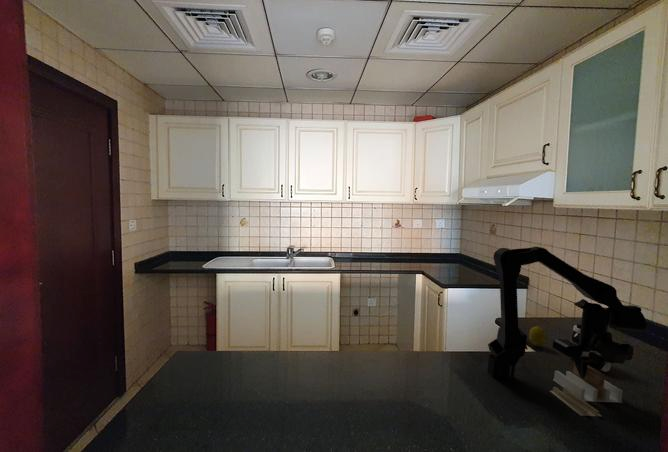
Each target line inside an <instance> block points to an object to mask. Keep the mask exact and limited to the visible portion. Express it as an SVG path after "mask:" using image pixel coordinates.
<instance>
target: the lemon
mask: <svg viewBox="0 0 668 452" xmlns="http://www.w3.org/2000/svg"><path fill="white" fill-rule="evenodd" d="M528 338H529V340H530V342H531V343H532V344H534V345H535V347H539V346H542V345H544V344H545V343H546V342H547V341H546V340H547V333H546V331H545V330H544V329H543V327H541V326H539V325H536V326H533V327H531V328H530V330H529V331H528Z"/></svg>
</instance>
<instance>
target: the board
mask: <svg viewBox="0 0 668 452" xmlns="http://www.w3.org/2000/svg"><path fill="white" fill-rule="evenodd" d="M572 373H573V374H574V375H576V376H577V377H579V378H581V377H580V375H579V373H578V370H577V368H576V365H575V363H574V362H573V369H572ZM605 378H606V374H604V373H603V372H602V371H600V372H599V371H597V370H596V369H594V368H592V367H590V366H589V365H587V370H586V375H585V378H581V379H582V380H584V381H585V382H587V383H588V384H590V385H591V386H593V387H594V388H596V389H597V390H598V393H597V399H599V400H602V394H603V387H604V380H605Z"/></svg>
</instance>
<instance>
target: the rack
mask: <svg viewBox="0 0 668 452" xmlns="http://www.w3.org/2000/svg"><path fill="white" fill-rule="evenodd" d="M552 381H554V382H555V383H557V384H558V385H559V386H560V387H562V388H563V387H566V388H567V389H569V390H570V391H572V392H573V393H574V394H576V395H577V396H578V397H580V398H581V399H583V400H584V401H585V402H599V403H601V402H602V403H603V402H604V403H624V402H623V392H624V391H623V390H622V389H620V388H619V387H618V386H616V385H613V384H612V383H611V382H608V381H607V380H605V379H604V387H603V394H602V400H599V399H597V393H598V390H597V389H596V388H594V387H593V386H591V385H590V384H588V383H587V382H585V381H584V380H582V379H581V378H579V377H577V376H576V375H574V374H573V372H571V371H570V370H566V372H565V374H564V373H562V372H561V371H559V370H554V376H553V379H552Z"/></svg>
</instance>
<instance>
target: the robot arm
mask: <svg viewBox="0 0 668 452" xmlns="http://www.w3.org/2000/svg"><path fill="white" fill-rule="evenodd" d="M493 261H494V262H493V263H494V265H495V266H494V267H495V269H496V272H497V275H498V277H499V294H500V296H499V297H500V325H499V327H498V330H497V334H496V338H495V339H494V340H492V341H490V342H489V343H488V344H487V346H488V350H489V352H490V353H491V354H488V358H487V359H488V360H487V361H488V363H487V370H486V372H487V374H488V375H489V376H491V378H493V379H496V380H500V381H504V382H507V381H510V380H513V379H515V372H516V365H517V364H518V362H519V360H520V359H521V358H522V357H523V356H525V354H526V350H529V348H528V346H527V339H528V335H527V334H525V332H523V331H522V330H521V329H520V328H519V312H518V311H519V309H518V287H517V286H518V281H517V280H518V277H519V276H520V273H521V270H522V266H527V265H532V264H535V263H540V264H541V265H543V266H544V267H546V268H548V269H549V270H550V271H552V272H554V273H555V274H557V275H558V276H560V277H562V278H563V279H565V280H566V281H568V282H569V283H570V284H571V285H572V286H573V287H574V288H575V289H576V290H577V291H578V292H579V293H580V294H581V295H582V296H584V297H585V298H587V299H589V300H591V301H593V302H594V303H593V302H589V301H588V300H586V299H584V298H581V299H580V300H578V301H575V302H574V304H573V305H574V306H575V307H578V308H579V309H582V313H581V321H580V323H577V324H576V325H577V328H579V329H580V336H579V338H575V341H576V342H578V343H579V344H575V343H573V342H571V341H570V340H569V339H565V338H564V339H561V338H555V339H554V340H553V341H552V348H553V349H555V350H557V352H559V353H561V354H563V356H564V355H565V356H567V357H569V358H570V357H572V359H573V360H572V359H571V360H572V361H573V364H574V363H575V365H576V368H577V370H578V373H579V375H580V377H581V378H585V375H586V370H587V365H588V362H589V366H590V367H592V368H594V369H596V370H597V371H599V372H602V371H601V369H602V368H603V367H604V366H605V364H606V363H611V364H620V365H623V364H624V363H625V362H626V361H631V360H632V359H634V358H633V356H634V347H633V346H632V345H631V344H629V343H619V342H615V341H614V340H613V335H612V332H610V331H608V328H609V325H610V326H611V327H612V328H614V329H617V330H619V329H620V330H625V331H633V332H643V331H644V330H645V329H646V328H647V327H646V326H647V321H646V317H645V316H644V314H643V313H642V307H639V306H636V305H633V304H632V305H630V304H629V305H626V304H623V302H622V301H621V300H620V298H619V297H618V293H617V289H616V288H615V287H614V286H613V285H611V284H609V283H606V282H604V281H601V280H599V279H597V278H594V277H592V276H589V275H587V274H585V273H583V272H582V271H580V270H579V269H577V268H576V267H573V266H572V265H570V264H568V263H567V262H566V261H564V260H563V259H561V258H559V257H557V256H556V255H555V254H553V253H551V252H550V251H548V249H547V248H544V247H541V246H532V247H524V248H522V247H521V248H514V249H513V248H512V249H510V248H507V247H500V248H498V249H497V250H496V251H495V252H494V253H493ZM595 302H596V303H595ZM602 305H604V306H606V307H604V306H602ZM586 348H587V349H586Z"/></svg>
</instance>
